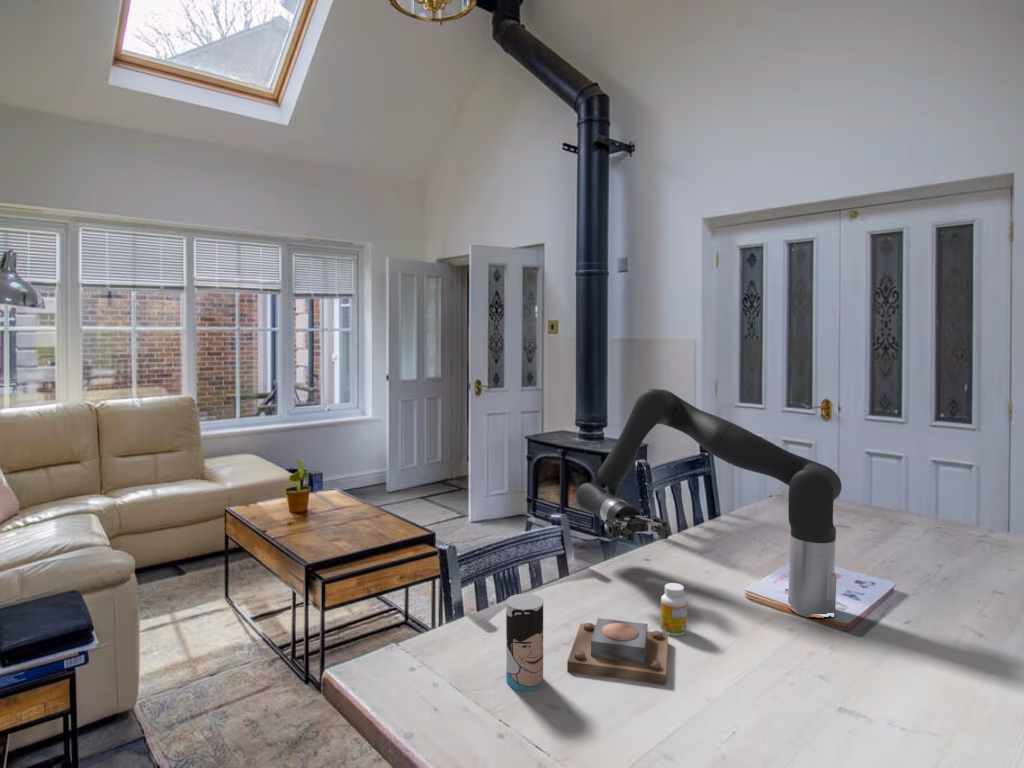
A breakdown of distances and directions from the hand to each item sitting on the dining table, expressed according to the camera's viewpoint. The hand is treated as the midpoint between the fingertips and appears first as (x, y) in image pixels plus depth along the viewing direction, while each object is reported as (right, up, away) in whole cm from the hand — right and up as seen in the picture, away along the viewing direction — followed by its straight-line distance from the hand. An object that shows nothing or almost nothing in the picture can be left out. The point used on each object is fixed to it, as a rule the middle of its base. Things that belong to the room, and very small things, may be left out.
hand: (649, 536), depth 145 cm
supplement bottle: (+3, -18, -9) cm, 21 cm away
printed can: (-29, -20, -29) cm, 45 cm away
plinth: (-10, -19, -20) cm, 29 cm away
